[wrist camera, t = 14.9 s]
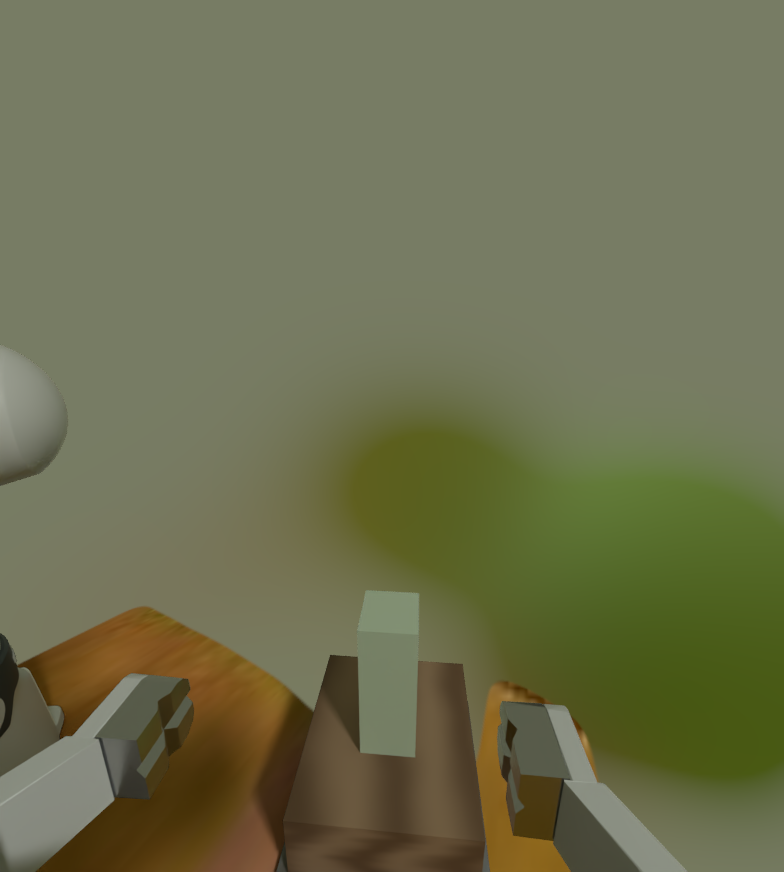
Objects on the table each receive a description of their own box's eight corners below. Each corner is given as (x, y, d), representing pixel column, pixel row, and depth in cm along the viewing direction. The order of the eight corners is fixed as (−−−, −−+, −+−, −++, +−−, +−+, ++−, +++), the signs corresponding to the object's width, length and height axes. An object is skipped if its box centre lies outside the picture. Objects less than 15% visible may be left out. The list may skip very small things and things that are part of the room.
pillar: (360, 752, 30) (357, 630, 27) (367, 700, 34) (366, 590, 31) (415, 757, 30) (418, 634, 27) (415, 704, 34) (419, 593, 31)
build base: (270, 898, 26) (262, 838, 25) (325, 692, 42) (323, 646, 40) (495, 925, 25) (503, 863, 24) (467, 703, 41) (470, 656, 39)
